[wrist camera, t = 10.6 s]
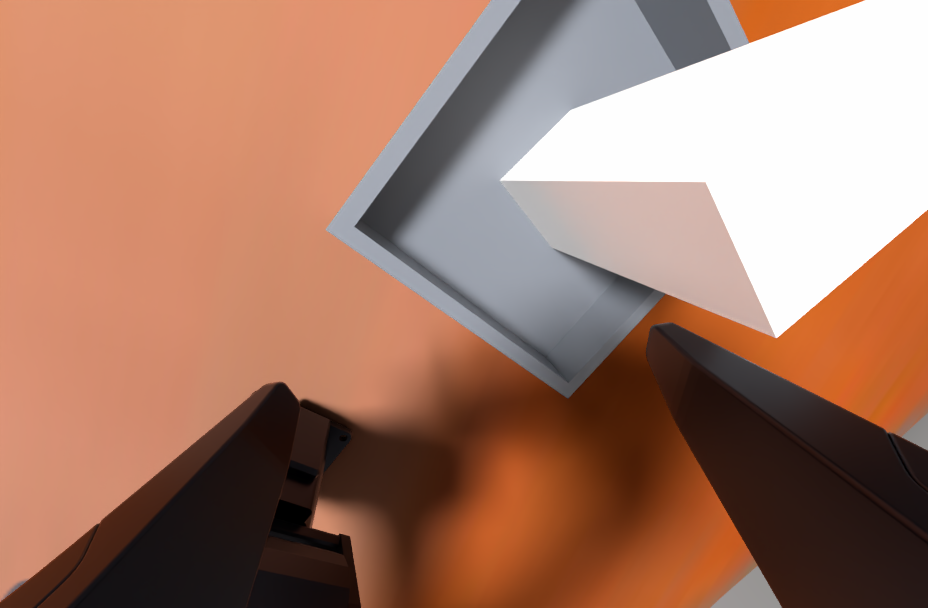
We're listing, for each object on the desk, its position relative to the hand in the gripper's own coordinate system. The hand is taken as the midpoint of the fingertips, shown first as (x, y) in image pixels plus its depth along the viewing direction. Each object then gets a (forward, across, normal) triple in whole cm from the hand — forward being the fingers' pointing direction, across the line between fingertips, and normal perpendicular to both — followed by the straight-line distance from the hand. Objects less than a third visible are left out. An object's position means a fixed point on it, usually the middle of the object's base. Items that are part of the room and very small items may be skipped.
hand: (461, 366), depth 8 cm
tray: (+14, -5, 0) cm, 15 cm away
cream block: (+13, -6, 0) cm, 14 cm away
